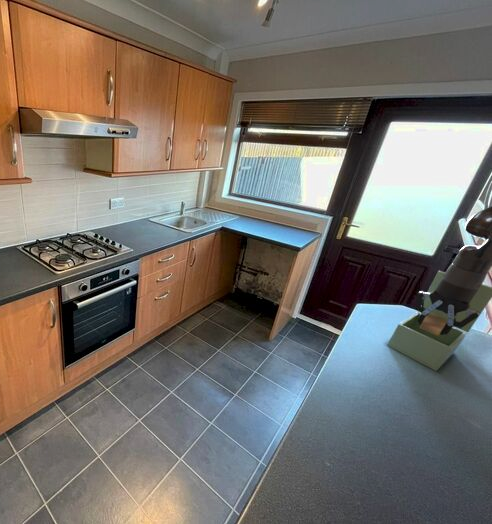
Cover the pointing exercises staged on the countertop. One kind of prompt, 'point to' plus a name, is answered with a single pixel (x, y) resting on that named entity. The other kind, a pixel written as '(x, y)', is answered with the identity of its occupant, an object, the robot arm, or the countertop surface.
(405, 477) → the countertop surface
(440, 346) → the green hinged box
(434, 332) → the block
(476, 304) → the lid
